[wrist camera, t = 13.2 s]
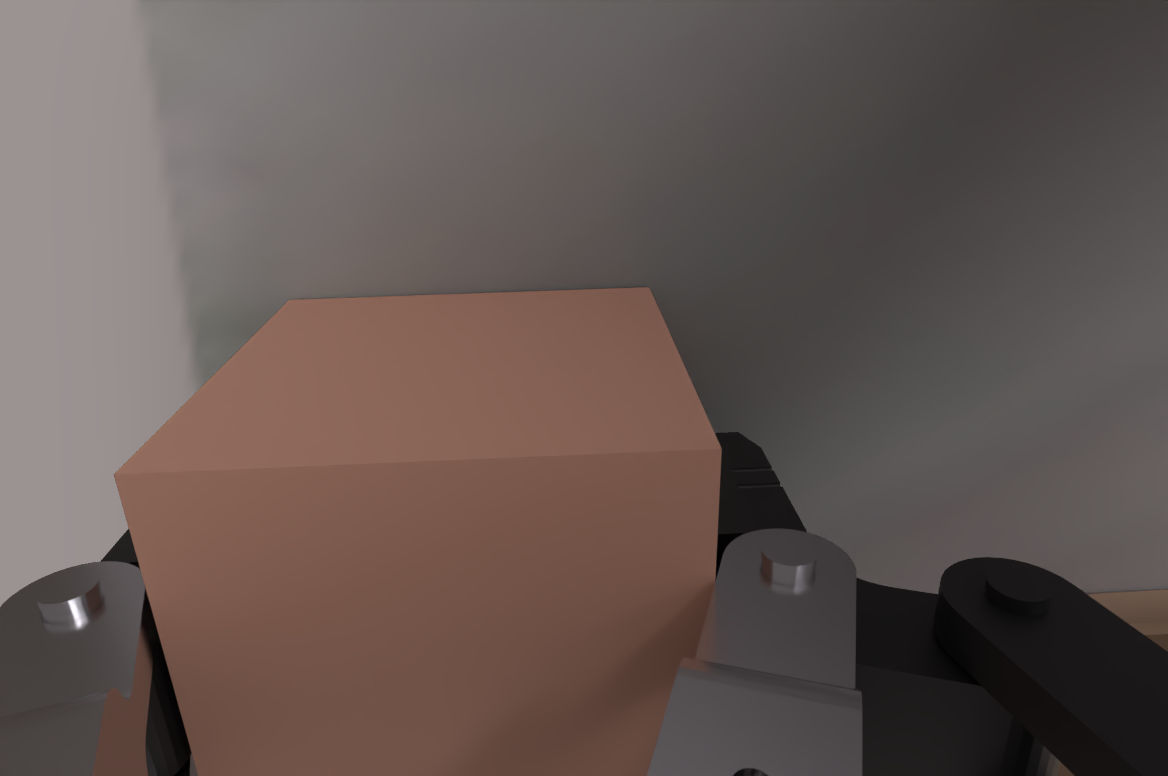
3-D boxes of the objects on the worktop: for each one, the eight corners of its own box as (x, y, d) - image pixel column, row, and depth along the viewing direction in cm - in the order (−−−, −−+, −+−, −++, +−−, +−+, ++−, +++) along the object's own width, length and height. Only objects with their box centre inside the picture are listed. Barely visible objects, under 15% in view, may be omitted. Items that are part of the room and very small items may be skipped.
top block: (289, 299, 11) (113, 474, 7) (648, 286, 11) (721, 448, 7) (339, 597, 13) (230, 891, 9) (646, 582, 13) (702, 864, 9)
